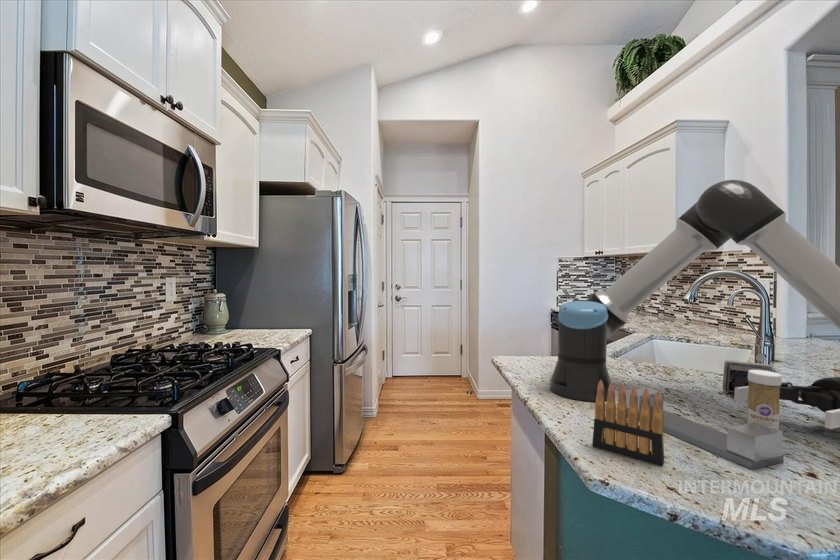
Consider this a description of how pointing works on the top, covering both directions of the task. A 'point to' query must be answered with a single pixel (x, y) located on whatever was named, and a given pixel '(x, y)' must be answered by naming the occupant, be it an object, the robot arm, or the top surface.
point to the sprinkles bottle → (764, 398)
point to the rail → (723, 437)
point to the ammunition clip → (629, 425)
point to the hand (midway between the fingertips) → (777, 406)
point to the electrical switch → (739, 374)
